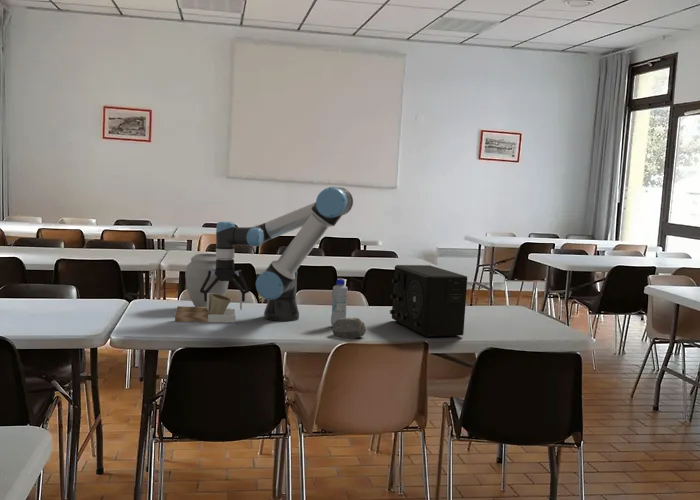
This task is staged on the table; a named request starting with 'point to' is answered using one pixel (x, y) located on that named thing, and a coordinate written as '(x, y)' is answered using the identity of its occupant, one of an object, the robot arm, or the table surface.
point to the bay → (223, 316)
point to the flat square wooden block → (192, 314)
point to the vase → (202, 278)
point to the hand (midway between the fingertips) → (224, 309)
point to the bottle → (339, 301)
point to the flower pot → (218, 304)
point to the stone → (349, 328)
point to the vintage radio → (429, 300)
